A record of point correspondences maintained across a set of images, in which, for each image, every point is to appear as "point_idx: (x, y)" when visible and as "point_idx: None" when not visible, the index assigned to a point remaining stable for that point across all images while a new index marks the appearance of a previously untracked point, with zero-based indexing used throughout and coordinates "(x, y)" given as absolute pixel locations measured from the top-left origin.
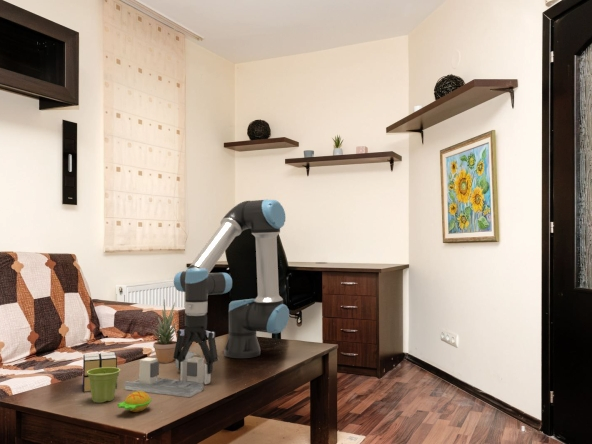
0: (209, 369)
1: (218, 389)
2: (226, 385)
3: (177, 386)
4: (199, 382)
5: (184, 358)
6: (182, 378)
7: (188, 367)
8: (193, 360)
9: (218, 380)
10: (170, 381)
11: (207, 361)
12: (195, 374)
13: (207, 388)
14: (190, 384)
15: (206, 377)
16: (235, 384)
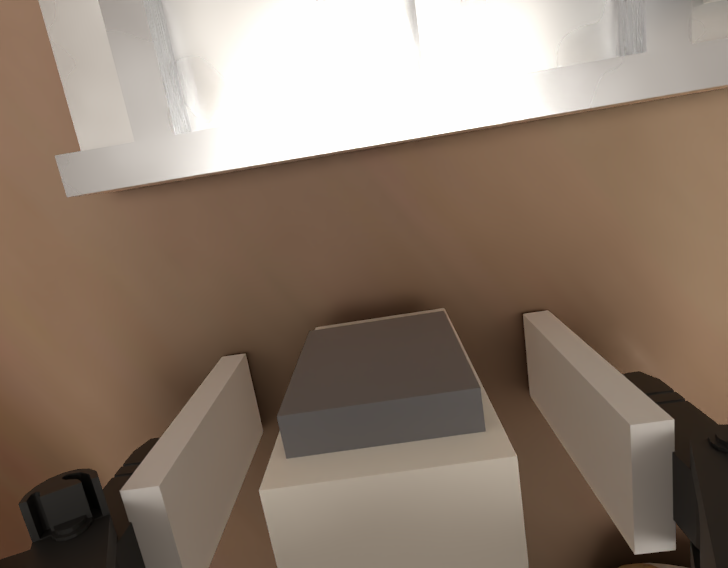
0: (131, 470)
1: (7, 293)
2: (48, 438)
3: (354, 22)
4: (107, 173)
5: (692, 554)
6: (533, 328)
7: (431, 354)
8: (366, 468)
9: (239, 533)
10: (532, 76)
11: (80, 538)
12: (309, 339)
13: (127, 266)
14: (132, 30)
15: (200, 393)
16: (4, 501)
